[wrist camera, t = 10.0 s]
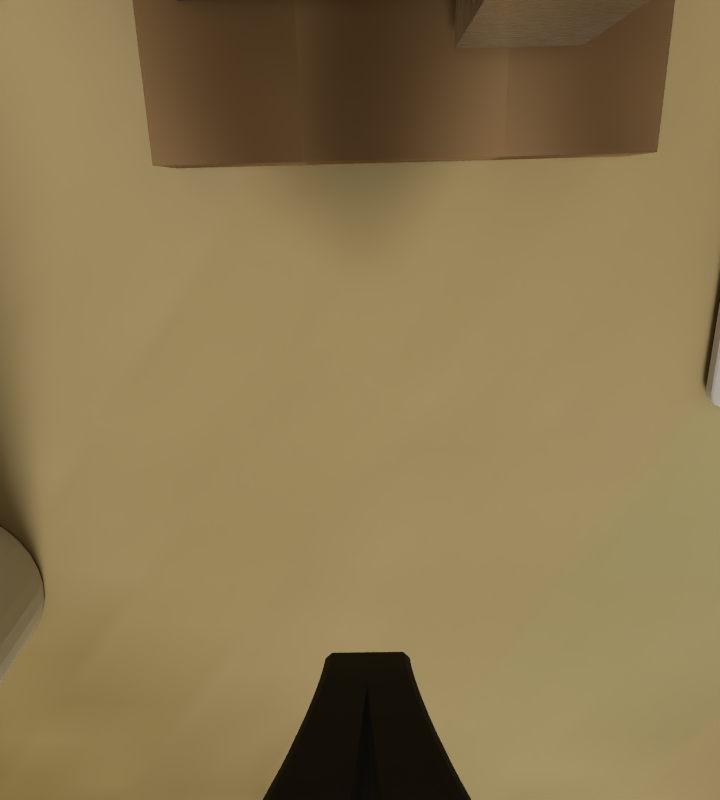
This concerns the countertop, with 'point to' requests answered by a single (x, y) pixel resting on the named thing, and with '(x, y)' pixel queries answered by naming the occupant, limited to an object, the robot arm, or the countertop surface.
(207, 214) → the countertop surface
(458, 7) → the slider knob
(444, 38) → the brown flat board
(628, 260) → the countertop surface
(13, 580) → the coffee cup
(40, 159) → the countertop surface
